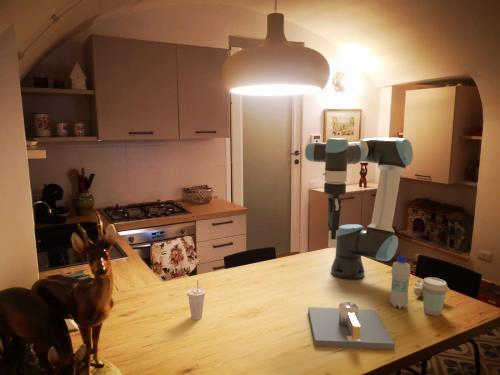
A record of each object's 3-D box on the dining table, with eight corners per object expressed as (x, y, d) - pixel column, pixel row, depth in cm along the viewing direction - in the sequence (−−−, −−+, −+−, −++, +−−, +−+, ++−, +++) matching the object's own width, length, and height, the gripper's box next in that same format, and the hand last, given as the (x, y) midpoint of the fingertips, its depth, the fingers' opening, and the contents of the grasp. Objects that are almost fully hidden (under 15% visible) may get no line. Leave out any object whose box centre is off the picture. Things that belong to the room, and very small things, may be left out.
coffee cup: (450, 316, 135) (453, 285, 133) (429, 318, 133) (431, 286, 131) (435, 305, 143) (437, 276, 141) (414, 307, 141) (417, 277, 140)
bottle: (409, 310, 139) (413, 259, 136) (390, 309, 140) (394, 257, 137) (405, 302, 145) (409, 253, 142) (387, 301, 146) (391, 252, 144)
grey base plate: (308, 312, 137) (308, 306, 136) (374, 314, 135) (375, 308, 135) (315, 346, 115) (315, 339, 115) (394, 349, 114) (394, 342, 113)
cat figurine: (418, 277, 155) (447, 278, 146) (423, 292, 156) (453, 294, 147) (410, 288, 150) (440, 289, 141) (416, 303, 151) (446, 306, 142)
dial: (337, 318, 128) (337, 301, 127) (354, 319, 128) (355, 302, 127) (345, 342, 113) (346, 324, 112) (365, 343, 113) (367, 325, 112)
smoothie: (200, 323, 128) (200, 284, 126) (184, 319, 130) (183, 281, 128) (208, 314, 134) (208, 277, 132) (193, 311, 136) (192, 275, 134)
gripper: (322, 179, 138) (319, 241, 141) (327, 184, 125) (324, 252, 128) (342, 180, 137) (339, 242, 141) (349, 185, 125) (346, 253, 128)
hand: (332, 247), depth 135 cm, fingers closed
